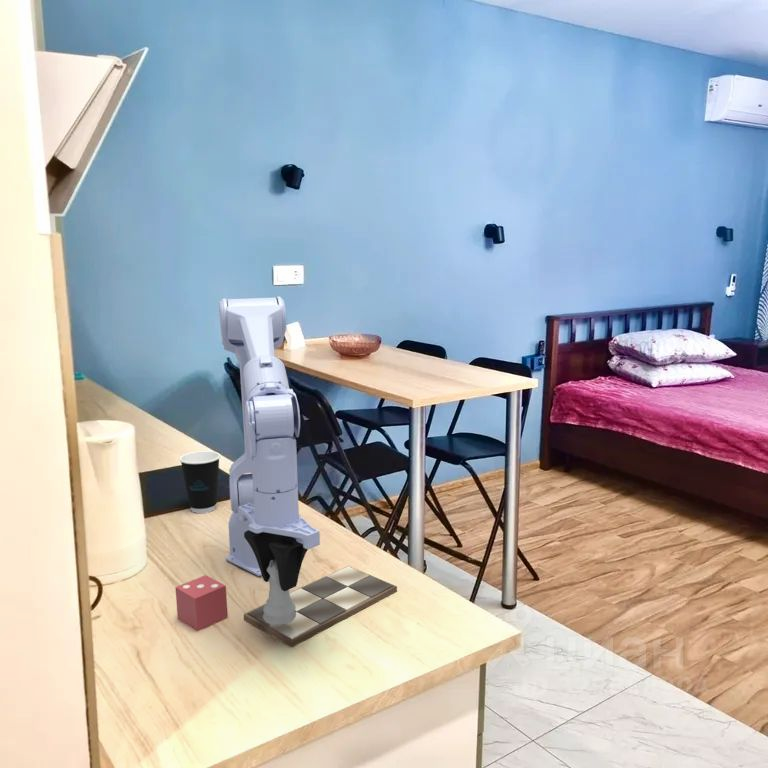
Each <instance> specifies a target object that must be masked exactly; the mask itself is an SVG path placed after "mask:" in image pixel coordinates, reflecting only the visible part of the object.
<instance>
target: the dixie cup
mask: <svg viewBox="0 0 768 768" xmlns="http://www.w3.org/2000/svg"><path fill="white" fill-rule="evenodd" d="M220 459H221V454H220V453H219V452H217V451H211V450H200V451H199V450H198V451H192V452H188V453H184V454H183V455H181V456H180V457H179V459H178V460H179V462H180V464H181V469H182V475H183V479H184V484H185V485H184V486H185V490H186V495H187V500H188V505H189V507H190V510H192V511H193V512H192V511H191V512H192V513H194V512H196V513H195V514H206V512H208V513H211V512H213V511H215V510H216V507H217V506H216V505H217V503H218V492H219V491H218V489H219V488H218V487H219V486H218V485H219V471H220V470H219V469H220V468H219V467H220ZM214 509H215V510H214ZM212 510H213V511H212ZM210 511H211V512H210Z"/></svg>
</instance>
